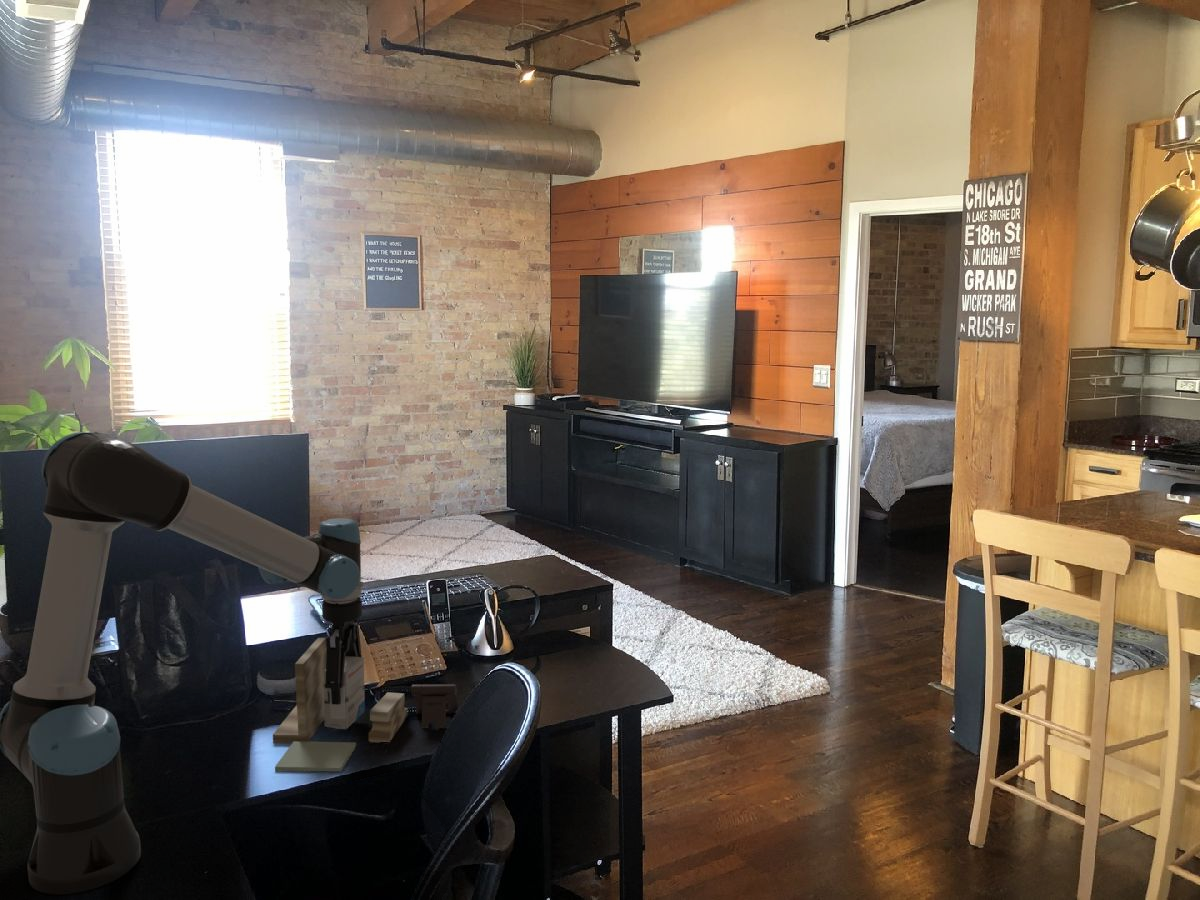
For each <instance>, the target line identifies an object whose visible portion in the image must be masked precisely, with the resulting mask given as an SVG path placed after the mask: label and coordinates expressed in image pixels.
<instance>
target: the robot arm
mask: <svg viewBox="0 0 1200 900" xmlns="http://www.w3.org/2000/svg"><path fill="white" fill-rule="evenodd" d="M41 477H42V479H43V483H44V485H45V487H46V489H47V490H46V493H45V495H46V496H45V501H44V507H43V511H42V512H43V513H42V514H43V515H44V517H46V519H47V520H48V521H49V522H50V525H51V531H50V537H49V543H48V547H47V555H46V559H45V565H44V572H43V576H42V577H43V578H42V583H41V587H40V594H39V599H38V606H37V612H36V617H35V623H34V629H33V635H32V640H31V646H30V650H29V651H30V652H29V656H28V657H29V658H28V664H27V669H26V673H25V675H24V676H23V677H22V678H20V679H19V680H17V681H15V682H14V684H13V686H12V690H11V696H10V700H9V701H8V702H7V703H5V704H4V706H3V707H2V709H1V711H0V750H1V751H2V753H3V755H4V756H5V758H6V759H8V760H9V761H10V762H11V763H12V764H13V765H14V766H15V767H16V768H17V769H18V770H19V771H20V772H21V773H22V774H23V775H24V777H26V778H27V780H28V781H29V782H30V783H31V785H32V786H31V787H32V788H33V796H34V797H33V798H34V805H35V815H36V827H37V828H36V831H35V835H34V839H33V843H32V846H31V850H30V853H29V857H28V859H27V860H28V861H27V875H28V876H27V877H28V878H27V879H28V883H29V884H30V887H32V888H33V889H34V890H36V891H38V892H40V893H43V894H47V895H71V894H79V893H83V892H88V891H91V890H94V889H97V888H100V887H103V886H106V885H107V884H111V883H112V882H114V881H116V880H118V879H120V878H121V877H123V876H124V875H125V874H127V873H128V872H130V871H131V870H132V869H133V868H134V867H135V866H136V864H137V863H138V862H139V861H140V859H141V855H142V848H141V839H140V838H141V837H140V835H139V833H138V831H137V830H136V827H135V825H134V823H133V821H132V819H131V817H130V815H129V813H128V811H127V809H126V807H125V798H124V797H125V796H124V795H125V794H124V785H123V771H122V757H121V746H120V745H121V735H120V731H119V727H118V722H117V719H116V718H115V716H114V715H113V713H112V712H110V711H109V710H108V709H107V708H104V707H102V706H98V705H94V703H95V702H94V701H95V697H96V690H97V688H96V686H95V685H94V683H93V682H92V681H91V680H90V679H89V678H88V674H89V669H90V663H91V657H92V652H93V646H94V640H95V635H96V630H97V629H96V628H97V623H98V618H99V612H100V606H101V600H102V594H103V587H104V583H105V577H106V572H107V567H108V565H107V564H108V560H109V553H110V547H111V542H112V536H113V532H114V531H115V530H116V529H118V528H119V527H120V526H122V525H123V524H124V523H125V522H126V521H128V522H132V523H134V524H138V525H141V526H144V527H147V528H149V529H151V530H154V531H157V532H163V531H164V530H167V529H169V530H170V531H174V532H176V533H177V534H180V535H182V536H185V537H188V538H190V539H191V540H195V541H196V542H198V543H202V544H204V545H207V546H208V547H211V548H213V549H216V550H218V551H220V552H222V553H225V554H227V555H228V556H229V555H230V556H232V557H233V558H234V557H235V558H237V559H239V560H241V561H244V562H245V563H248V564H250V565H253V566H255V567H257V568H258V571H259V574H260V576H261V578H262V580H263V581H264V582H265V583H266V584H268V585H274V584H284V583H285V582H286V583H287V582H292V583H294V584H297V585H298V586H302V587H304V588H307V589H309V590H311V591H313V592H316V593H318V594H320V595H321V598H322V599H323V600H322V601H321V614H322V619H323V620H324V621H326V622H328V623H330V624H331V628H330V631H329V636H328V635H327V636H326V637H325V638H326V649H327V655H326V683H325V684H324V686H325V688H330V715H331V719H345V718H346V713H345V686H343V677H344V667H345V657H346V656H353V657H363V655H362V648H361V647H362V645H361V638H360V637H361V636H360V628H359V619H360V618H361V617H362V616H363V600H362V598H361V596H362V588H363V587H364V585H365V584H364V581H362V580H361V579H362V576H361V575H362V573H361V572H362V570H361V569H362V568H361V567H362V565H361V544H362V541H361V534H360V533H361V531H360V526H359V524H358V522H357V521H356V520H355V519H354V520H353V519H352V518H347V517H346V518H345V517H344V518H343V517H341V518H339V517H338V518H329V519H326V520H323V521H321V522H320V523H319V524H318V525H319V526H318V530H317V533H315V534H312V535H307V536H302V535H299V534H297V533H295V532H292V531H290V529H289V530H288V529H286V528H284V527H282V526H280V525H277V524H276V523H274V522H272V521H270V520H267V519H265V518H264V517H260V516H259V515H256V514H255V513H254V512H253V513H252V512H250V511H248V510H246V509H244V508H242V507H240V506H238V505H235V504H234V503H232V502H229V501H228V500H226V499H223V498H221V497H219V496H217V495H215V494H212V493H210V492H208V491H206V490H204V489H202V488H200V487H198V486H195V485H194V484H192V481H191V478H190V475H187V474H186V473H184V472H182V471H179V470H178V469H175V468H174V467H172V466H170V465H168V464H166V463H165V462H163V461H161V460H160V459H158V458H157V457H155V456H154V455H152V454H150V453H149V452H147V451H146V450H144V449H142V448H141V447H139V446H137V445H136V444H134V443H131V442H130V441H127V440H124V439H120V438H119V439H118V438H116V437H113V436H111V435H108V434H105V433H100V432H97V431H79V432H78V431H77V432H73V433H70V434H67V435H64V436H62V437H61V438H60V439H58V440H57V441H55V442H54V443H53V444H52V445H51V446H50V447H49V448H48V449H47V451H46V453H45V454H44V457H43V459H42V463H41Z"/></svg>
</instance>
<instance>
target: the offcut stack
mask: <svg viewBox="0 0 1200 900" xmlns="http://www.w3.org/2000/svg"><path fill="white" fill-rule="evenodd" d="M405 701H406V700H405V693H400V692H388V691H387V692H386V693H385V695H383V696H382V697H381V698H380V700H379V701H378V702H377V703H376V704H375V705H374V706H373V707H372V708H371V709H370V710H369V722H372V728H370V731H369V732H368V742H369V741H370V742H369V743H380V742H389V743H390V742H391V741H392V739H393V738H394V736H395V735H396V734H397V732H398V731H399V729H400V727H401V726H402V725H403V723H404V722H405V721H406V719H405V718H407V717H408V708H407V707H405ZM406 716H407V717H406ZM395 733H396V734H395ZM390 740H391V741H390Z"/></svg>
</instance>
